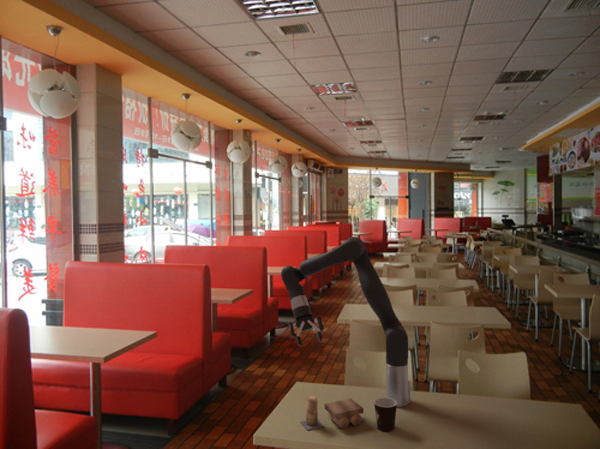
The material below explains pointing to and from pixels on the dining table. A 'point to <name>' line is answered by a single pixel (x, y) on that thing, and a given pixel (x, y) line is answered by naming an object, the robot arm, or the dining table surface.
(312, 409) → the roller
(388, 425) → the coffee mug
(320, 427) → the mat
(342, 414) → the slab
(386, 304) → the robot arm
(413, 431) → the dining table surface
